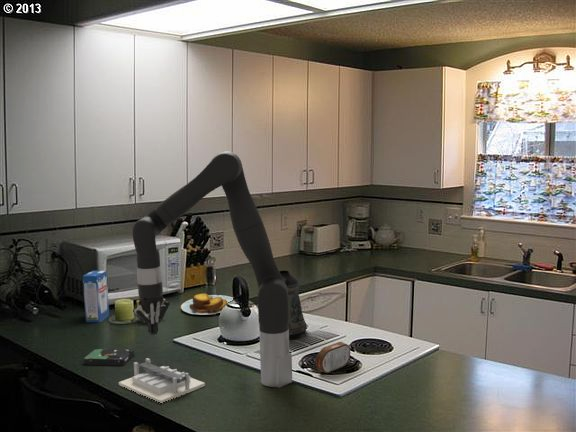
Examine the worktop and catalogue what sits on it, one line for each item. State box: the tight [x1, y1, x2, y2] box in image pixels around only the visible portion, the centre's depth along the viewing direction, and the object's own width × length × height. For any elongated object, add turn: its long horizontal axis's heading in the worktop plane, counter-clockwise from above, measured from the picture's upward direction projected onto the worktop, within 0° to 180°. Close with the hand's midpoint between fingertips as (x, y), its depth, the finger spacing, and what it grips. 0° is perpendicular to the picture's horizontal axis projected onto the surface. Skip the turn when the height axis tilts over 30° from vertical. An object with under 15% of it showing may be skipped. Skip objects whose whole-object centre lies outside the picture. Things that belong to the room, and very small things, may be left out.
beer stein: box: [279, 270, 307, 341], centre depth 250 cm, size 16×19×25 cm
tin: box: [315, 341, 351, 374], centre depth 215 cm, size 15×3×8 cm, turn 134°
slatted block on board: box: [118, 357, 206, 404], centre depth 205 cm, size 22×17×6 cm
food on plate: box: [180, 293, 234, 316], centre depth 290 cm, size 25×25×7 cm
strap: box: [139, 361, 186, 383], centre depth 205 cm, size 21×3×1 cm, turn 48°
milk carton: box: [82, 270, 110, 323], centre depth 278 cm, size 10×6×20 cm, turn 172°
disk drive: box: [83, 348, 135, 367], centre depth 230 cm, size 10×3×15 cm
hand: (153, 334), depth 205 cm, fingers closed
